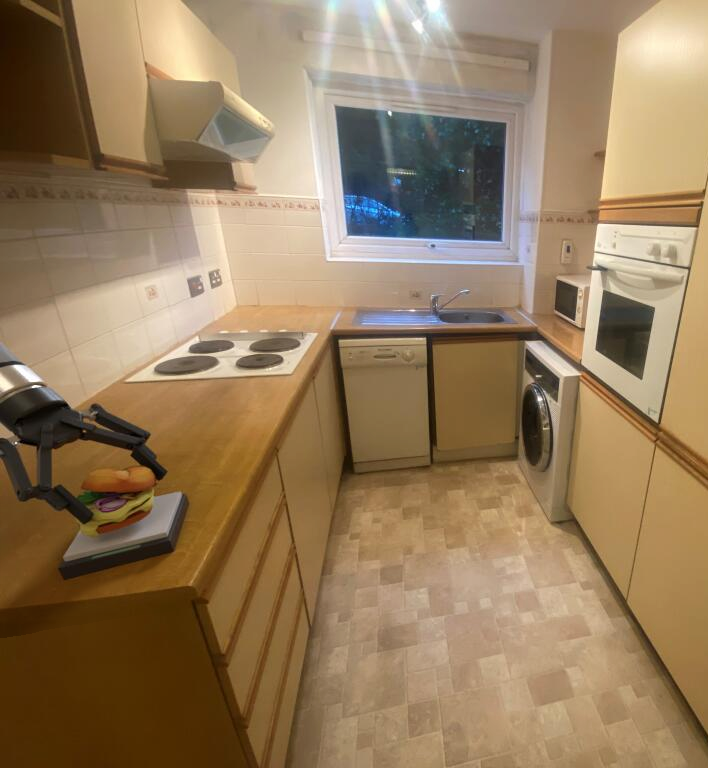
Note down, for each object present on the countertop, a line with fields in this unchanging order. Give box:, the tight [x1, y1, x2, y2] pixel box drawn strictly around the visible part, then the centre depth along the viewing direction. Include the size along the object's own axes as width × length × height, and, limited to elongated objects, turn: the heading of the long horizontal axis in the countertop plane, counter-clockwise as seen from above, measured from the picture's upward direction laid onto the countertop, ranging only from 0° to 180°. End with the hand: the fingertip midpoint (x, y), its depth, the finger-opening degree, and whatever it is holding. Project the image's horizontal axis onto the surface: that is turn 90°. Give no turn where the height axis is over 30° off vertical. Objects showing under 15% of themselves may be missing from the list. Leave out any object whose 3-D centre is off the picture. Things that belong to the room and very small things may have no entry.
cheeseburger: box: [74, 465, 160, 537], centre depth 72 cm, size 10×11×10 cm
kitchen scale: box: [57, 491, 190, 580], centre depth 75 cm, size 14×14×3 cm
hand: (128, 496), depth 71 cm, fingers closed on cheeseburger, 11 cm apart
